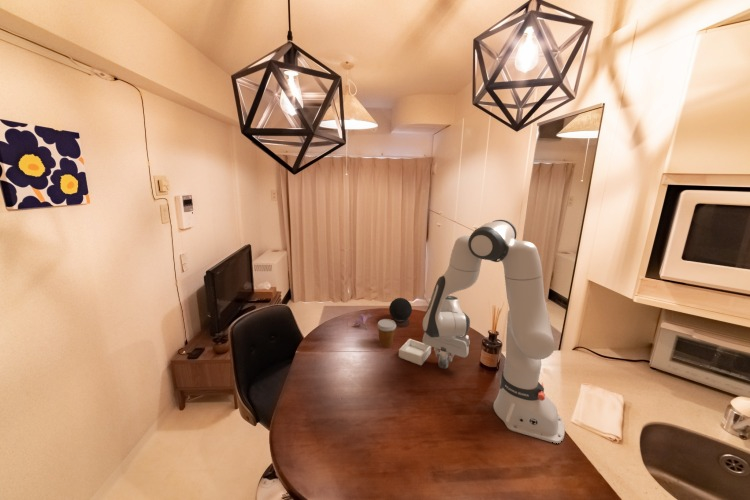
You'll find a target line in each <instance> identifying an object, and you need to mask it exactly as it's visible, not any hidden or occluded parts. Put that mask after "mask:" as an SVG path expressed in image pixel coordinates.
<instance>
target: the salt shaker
mask: <svg viewBox="0 0 750 500" xmlns="http://www.w3.org/2000/svg"><path fill="white" fill-rule="evenodd" d="M438 352H439V357H438V364H437V365H438V367H439V368H441V369H448V368H449V362H450V361H448V357H449V356H450V353H449V352H446V348H443V347H441V349H438Z"/></svg>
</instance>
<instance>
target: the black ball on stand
mask: <svg viewBox="0 0 750 500" xmlns="http://www.w3.org/2000/svg"><path fill="white" fill-rule="evenodd" d="M388 307H389V308H388V310H389V311H388V313H389V314H390V317H391V319H390V320H393V321H394V322H395V324H396V328H405V327H406V328H407V327H408V326H409V325H410V320H409V319H410V317H411V315H412V312H413V308H412V304H411V303H410V301H409V300H407V299H406V298H404V297H397V298H394V299H393V300H392V301H391V302H390V305H388Z"/></svg>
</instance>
